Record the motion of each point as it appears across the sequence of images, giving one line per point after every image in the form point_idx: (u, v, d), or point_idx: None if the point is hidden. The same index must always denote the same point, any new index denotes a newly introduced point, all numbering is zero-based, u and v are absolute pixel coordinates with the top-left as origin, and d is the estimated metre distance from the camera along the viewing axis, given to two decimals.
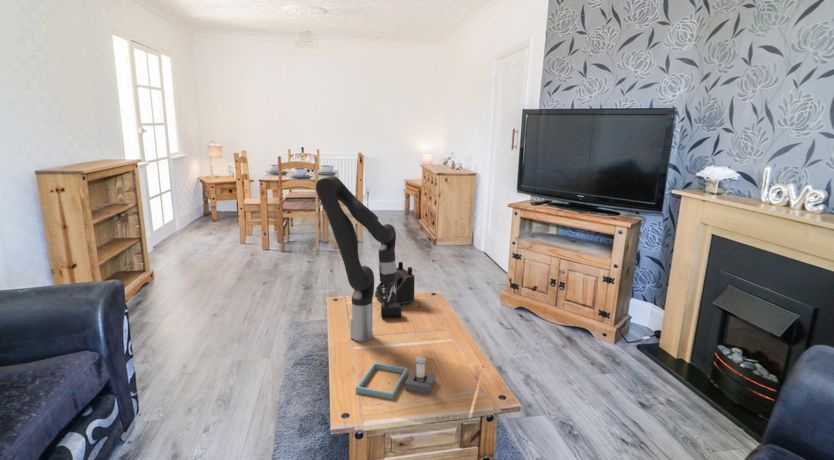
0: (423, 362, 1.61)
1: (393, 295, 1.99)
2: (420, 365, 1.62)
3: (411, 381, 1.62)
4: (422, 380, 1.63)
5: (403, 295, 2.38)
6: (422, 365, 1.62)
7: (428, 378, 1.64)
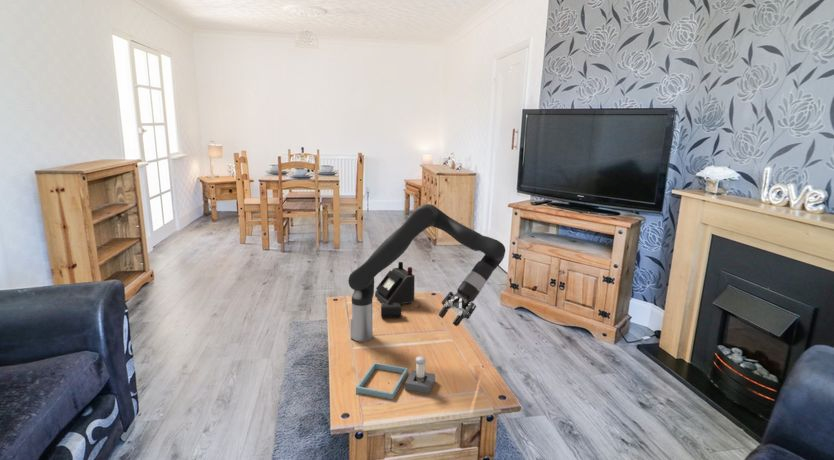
0: (423, 362, 1.61)
1: (446, 310, 1.70)
2: (420, 365, 1.62)
3: (411, 381, 1.62)
4: (422, 380, 1.63)
5: (403, 295, 2.38)
6: (422, 365, 1.62)
7: (428, 378, 1.64)
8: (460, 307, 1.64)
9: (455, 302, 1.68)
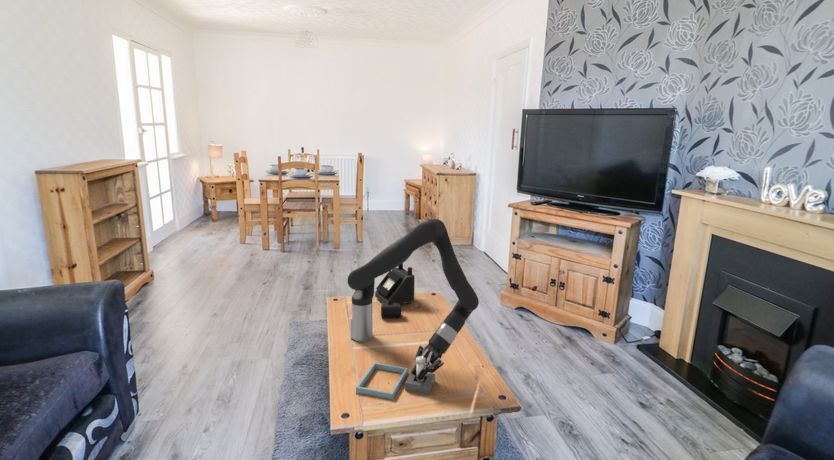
0: (423, 362, 1.61)
1: None
2: (420, 365, 1.62)
3: (411, 381, 1.62)
4: (422, 380, 1.63)
5: (403, 295, 2.38)
6: (422, 365, 1.62)
7: (428, 378, 1.64)
8: (427, 361, 1.62)
9: (427, 355, 1.65)
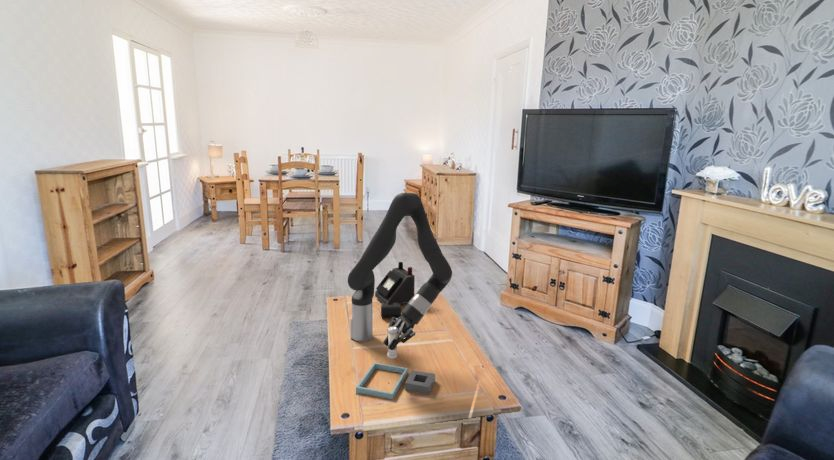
0: (395, 332, 1.60)
1: None
2: (392, 335, 1.61)
3: (411, 381, 1.62)
4: (394, 350, 1.62)
5: (403, 295, 2.38)
6: (394, 335, 1.61)
7: (428, 378, 1.64)
8: (399, 331, 1.61)
9: (400, 325, 1.64)
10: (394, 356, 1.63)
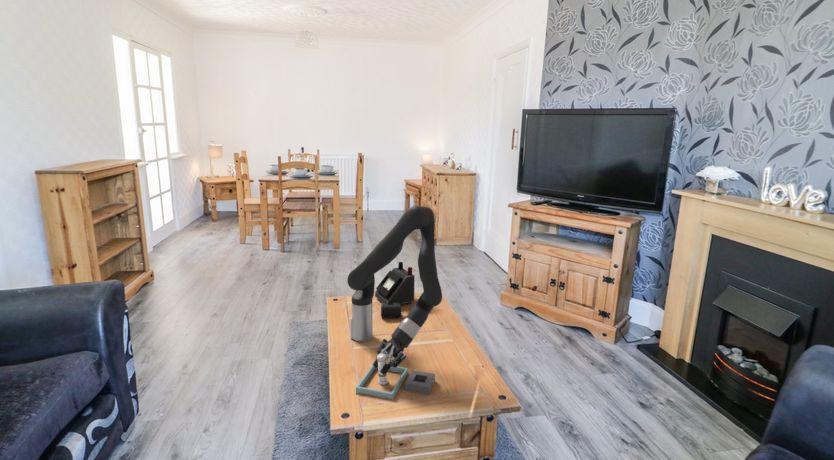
0: (384, 359, 1.63)
1: None
2: (381, 362, 1.64)
3: (411, 381, 1.62)
4: (384, 377, 1.65)
5: (403, 295, 2.38)
6: (383, 362, 1.64)
7: (428, 378, 1.64)
8: (390, 355, 1.63)
9: (389, 349, 1.66)
10: (384, 383, 1.65)
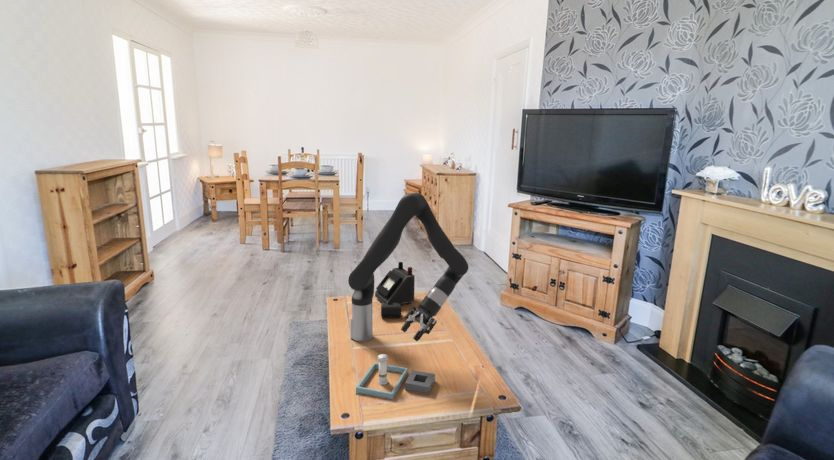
0: (385, 360, 1.63)
1: (408, 324, 1.74)
2: (382, 363, 1.63)
3: (411, 381, 1.62)
4: (384, 377, 1.65)
5: (403, 295, 2.38)
6: (384, 363, 1.64)
7: (428, 378, 1.64)
8: (421, 322, 1.67)
9: (417, 317, 1.71)
10: (385, 383, 1.65)
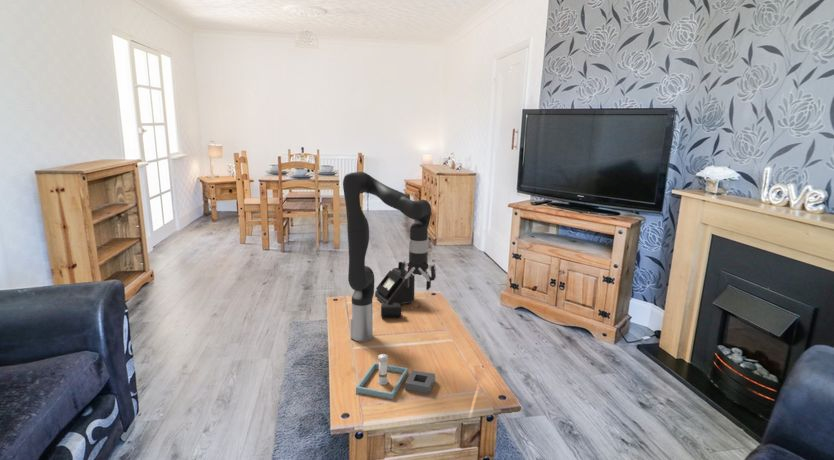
0: (385, 360, 1.63)
1: (408, 279, 1.83)
2: (382, 363, 1.64)
3: (411, 381, 1.62)
4: (384, 377, 1.65)
5: (403, 295, 2.38)
6: (384, 363, 1.64)
7: (428, 378, 1.64)
8: (424, 275, 1.78)
9: (415, 271, 1.80)
10: (385, 383, 1.65)
